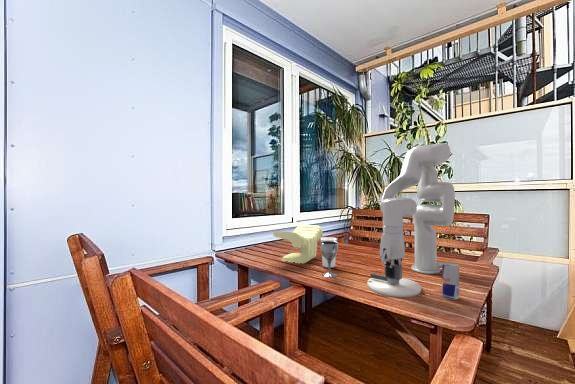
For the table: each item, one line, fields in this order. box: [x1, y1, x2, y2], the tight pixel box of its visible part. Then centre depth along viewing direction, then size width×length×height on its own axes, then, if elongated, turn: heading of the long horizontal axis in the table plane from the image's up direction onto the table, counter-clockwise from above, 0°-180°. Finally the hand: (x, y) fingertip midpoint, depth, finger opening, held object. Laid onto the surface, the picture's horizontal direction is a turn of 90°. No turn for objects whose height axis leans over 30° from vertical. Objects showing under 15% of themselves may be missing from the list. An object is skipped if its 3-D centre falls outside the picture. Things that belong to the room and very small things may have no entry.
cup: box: [320, 236, 338, 268], centre depth 142 cm, size 8×8×14 cm
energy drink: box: [441, 262, 460, 301], centre depth 101 cm, size 5×5×12 cm
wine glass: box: [320, 241, 339, 278], centre depth 128 cm, size 8×8×15 cm
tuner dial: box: [366, 277, 422, 298], centre depth 111 cm, size 20×20×2 cm
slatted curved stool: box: [272, 224, 324, 264], centre depth 156 cm, size 30×16×18 cm, turn 151°
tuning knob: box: [370, 263, 403, 284], centre depth 114 cm, size 12×4×7 cm, turn 47°
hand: (393, 275), depth 111 cm, fingers closed on tuning knob, 3 cm apart
